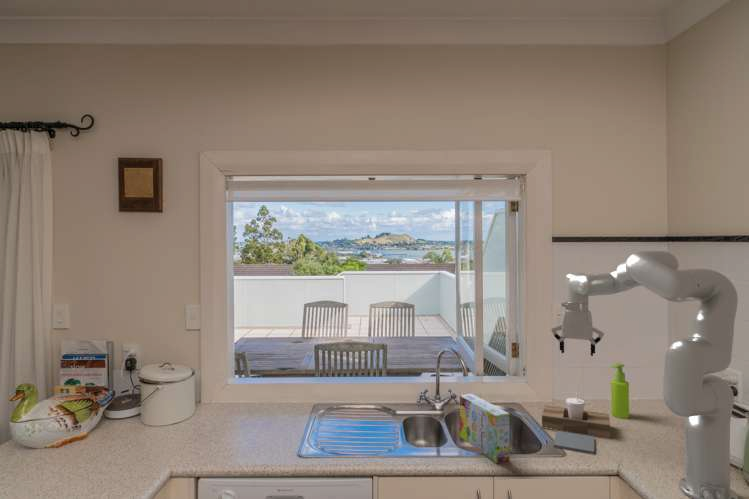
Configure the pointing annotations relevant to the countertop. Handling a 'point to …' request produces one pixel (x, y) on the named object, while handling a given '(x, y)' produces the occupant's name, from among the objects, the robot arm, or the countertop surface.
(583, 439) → the mat
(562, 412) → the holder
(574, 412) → the smoothie
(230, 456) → the countertop surface
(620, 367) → the soap dispenser
